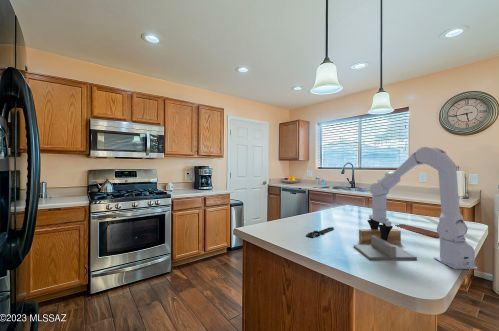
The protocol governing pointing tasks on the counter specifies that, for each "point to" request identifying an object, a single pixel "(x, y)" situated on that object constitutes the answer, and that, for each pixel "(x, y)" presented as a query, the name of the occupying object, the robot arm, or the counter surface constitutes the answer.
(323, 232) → the black spatula
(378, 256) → the stand
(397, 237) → the wooden block
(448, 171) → the robot arm
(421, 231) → the wooden tablet
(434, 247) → the counter surface
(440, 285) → the counter surface
